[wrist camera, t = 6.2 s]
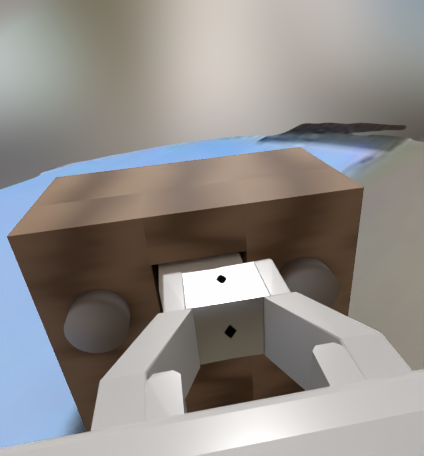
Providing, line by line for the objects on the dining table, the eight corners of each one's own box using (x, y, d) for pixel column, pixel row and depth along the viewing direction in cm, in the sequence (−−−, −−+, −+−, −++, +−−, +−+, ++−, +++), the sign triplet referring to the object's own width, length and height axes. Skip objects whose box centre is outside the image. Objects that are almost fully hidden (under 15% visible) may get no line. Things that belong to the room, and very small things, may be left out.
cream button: (236, 297, 25) (232, 238, 23) (251, 341, 21) (248, 276, 19) (169, 307, 25) (158, 249, 23) (171, 355, 21) (158, 290, 19)
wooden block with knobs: (294, 312, 37) (300, 146, 29) (347, 409, 27) (378, 196, 19) (107, 344, 35) (55, 177, 27) (87, 461, 25) (-5, 250, 17)
